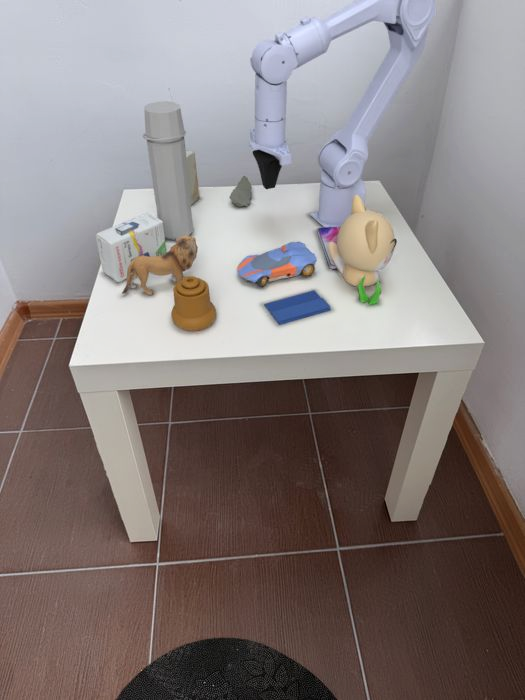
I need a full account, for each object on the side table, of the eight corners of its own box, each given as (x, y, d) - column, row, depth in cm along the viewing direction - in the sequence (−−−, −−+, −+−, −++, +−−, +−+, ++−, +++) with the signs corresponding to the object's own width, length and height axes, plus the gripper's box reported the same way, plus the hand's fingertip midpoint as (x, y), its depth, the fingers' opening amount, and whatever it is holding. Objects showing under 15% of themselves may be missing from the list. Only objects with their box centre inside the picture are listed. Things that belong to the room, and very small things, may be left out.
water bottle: (200, 236, 106) (189, 110, 89) (164, 245, 103) (146, 116, 86) (185, 217, 112) (172, 95, 95) (151, 225, 109) (131, 101, 92)
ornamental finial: (211, 302, 89) (220, 329, 84) (169, 309, 88) (175, 336, 83) (208, 264, 84) (217, 290, 79) (163, 270, 83) (169, 297, 77)
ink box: (148, 211, 96) (92, 232, 90) (164, 221, 94) (108, 243, 87) (153, 250, 102) (101, 272, 96) (169, 260, 100) (117, 284, 93)
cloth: (314, 291, 92) (314, 288, 92) (330, 310, 88) (331, 307, 88) (264, 305, 89) (264, 302, 89) (279, 325, 85) (279, 322, 85)
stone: (226, 206, 116) (247, 213, 116) (227, 198, 114) (248, 205, 115) (239, 179, 124) (258, 186, 125) (240, 172, 123) (260, 178, 123)
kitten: (401, 303, 90) (419, 227, 80) (346, 309, 88) (358, 232, 78) (372, 258, 101) (385, 186, 90) (323, 263, 99) (331, 190, 89)
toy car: (230, 270, 97) (229, 245, 93) (300, 253, 102) (302, 229, 98) (247, 293, 92) (246, 268, 88) (320, 274, 96) (322, 250, 93)
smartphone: (330, 266, 97) (316, 227, 108) (329, 270, 97) (316, 231, 108) (367, 263, 97) (349, 225, 108) (366, 267, 98) (349, 229, 109)
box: (200, 198, 119) (196, 151, 112) (190, 206, 116) (186, 158, 109) (181, 194, 121) (176, 147, 113) (171, 201, 118) (165, 154, 110)
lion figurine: (195, 269, 97) (190, 227, 91) (205, 284, 94) (201, 241, 88) (119, 288, 92) (109, 245, 86) (126, 304, 89) (117, 261, 83)
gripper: (235, 107, 97) (237, 176, 106) (267, 133, 87) (266, 206, 96) (268, 103, 99) (267, 171, 108) (303, 127, 89) (299, 199, 99)
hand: (269, 187), depth 102 cm, fingers closed
